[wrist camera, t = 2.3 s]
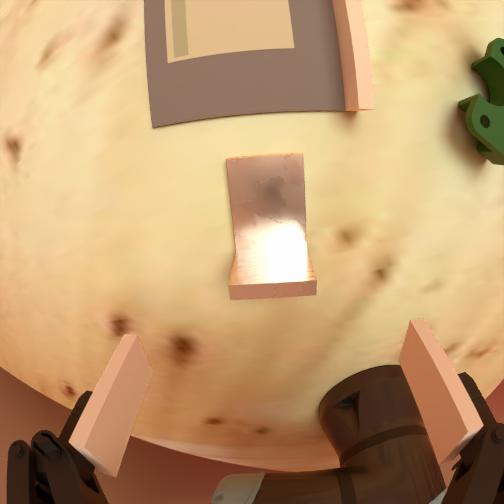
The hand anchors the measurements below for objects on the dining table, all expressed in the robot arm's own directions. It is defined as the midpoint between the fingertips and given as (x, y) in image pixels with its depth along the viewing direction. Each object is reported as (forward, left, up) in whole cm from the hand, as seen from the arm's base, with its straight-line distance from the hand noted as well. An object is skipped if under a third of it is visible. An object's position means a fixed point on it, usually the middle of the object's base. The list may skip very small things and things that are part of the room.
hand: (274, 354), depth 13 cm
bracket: (+3, 0, -14) cm, 15 cm away
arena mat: (+21, +1, -14) cm, 25 cm away
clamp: (+14, -22, -15) cm, 30 cm away
